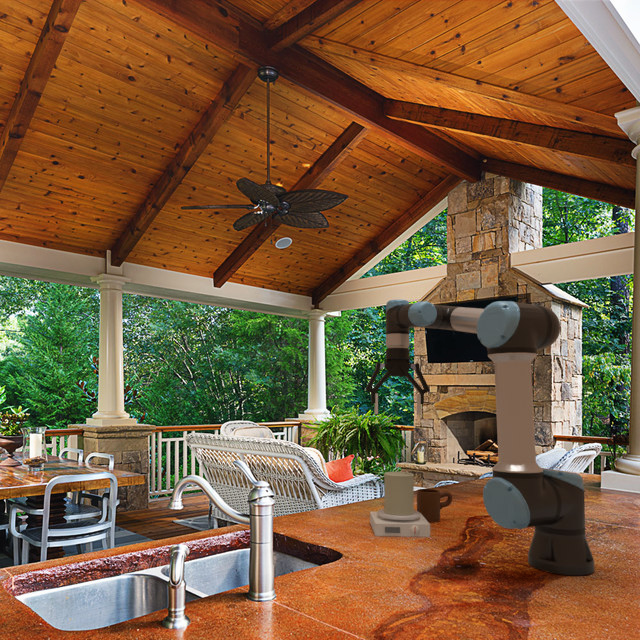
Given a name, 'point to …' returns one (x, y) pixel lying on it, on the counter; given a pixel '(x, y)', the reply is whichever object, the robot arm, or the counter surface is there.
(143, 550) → the counter surface
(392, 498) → the can
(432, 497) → the mug
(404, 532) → the scale
